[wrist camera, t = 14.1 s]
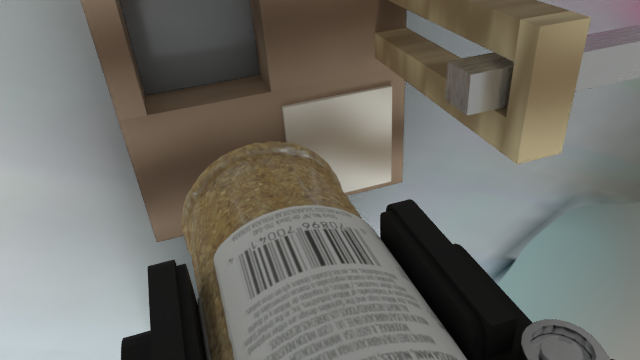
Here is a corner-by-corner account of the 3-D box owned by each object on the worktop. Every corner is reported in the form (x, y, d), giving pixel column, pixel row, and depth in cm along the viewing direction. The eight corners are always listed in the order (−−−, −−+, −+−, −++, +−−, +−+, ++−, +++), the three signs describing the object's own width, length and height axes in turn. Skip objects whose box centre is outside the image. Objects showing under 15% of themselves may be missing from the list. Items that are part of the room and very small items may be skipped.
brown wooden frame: (384, 162, 38) (524, 319, 25) (154, 215, 34) (172, 437, 21) (385, -155, 27) (634, -182, 14) (49, -129, 23) (-58, -131, 10)
